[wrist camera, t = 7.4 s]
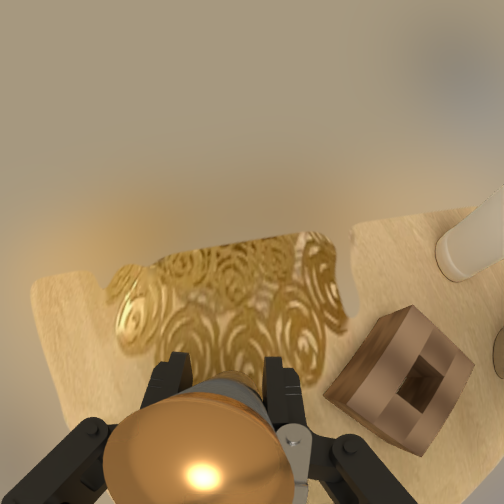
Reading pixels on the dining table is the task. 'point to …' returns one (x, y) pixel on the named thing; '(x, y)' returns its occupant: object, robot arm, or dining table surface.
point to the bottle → (474, 241)
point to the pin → (200, 449)
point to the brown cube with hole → (392, 375)
